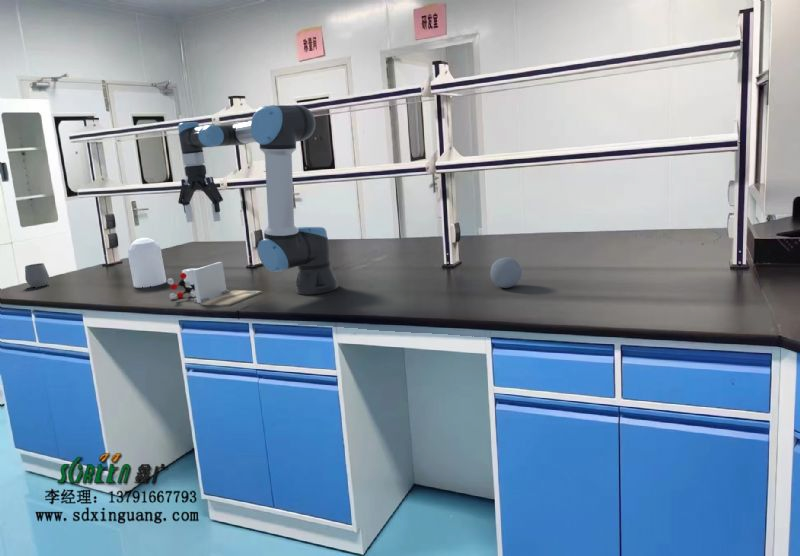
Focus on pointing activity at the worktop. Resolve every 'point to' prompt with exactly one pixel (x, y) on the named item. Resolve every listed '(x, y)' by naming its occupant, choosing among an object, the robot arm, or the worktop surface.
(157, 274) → the container
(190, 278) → the white upright block
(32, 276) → the cup
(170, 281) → the molecular model
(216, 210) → the robot arm
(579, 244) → the worktop surface
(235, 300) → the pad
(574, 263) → the worktop surface
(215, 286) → the occluder screen
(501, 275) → the decorative stone
